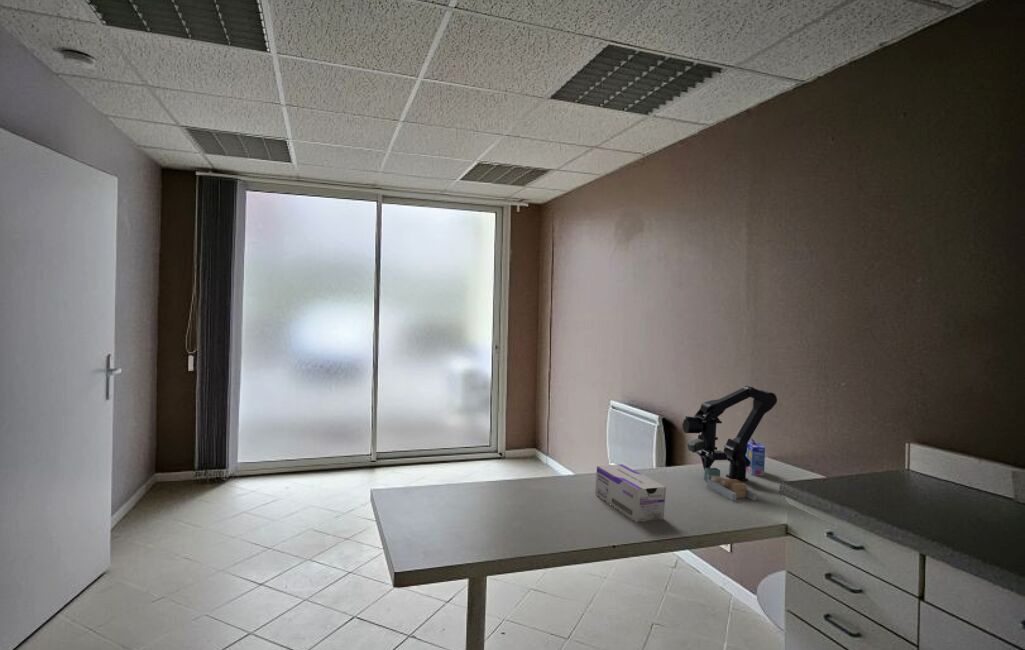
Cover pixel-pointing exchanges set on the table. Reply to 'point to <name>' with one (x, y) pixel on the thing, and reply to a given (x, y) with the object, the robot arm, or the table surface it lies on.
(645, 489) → the surgical sutures box
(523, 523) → the table surface
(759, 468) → the ink cartridge box
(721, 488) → the channel
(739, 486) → the block
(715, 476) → the push rod
